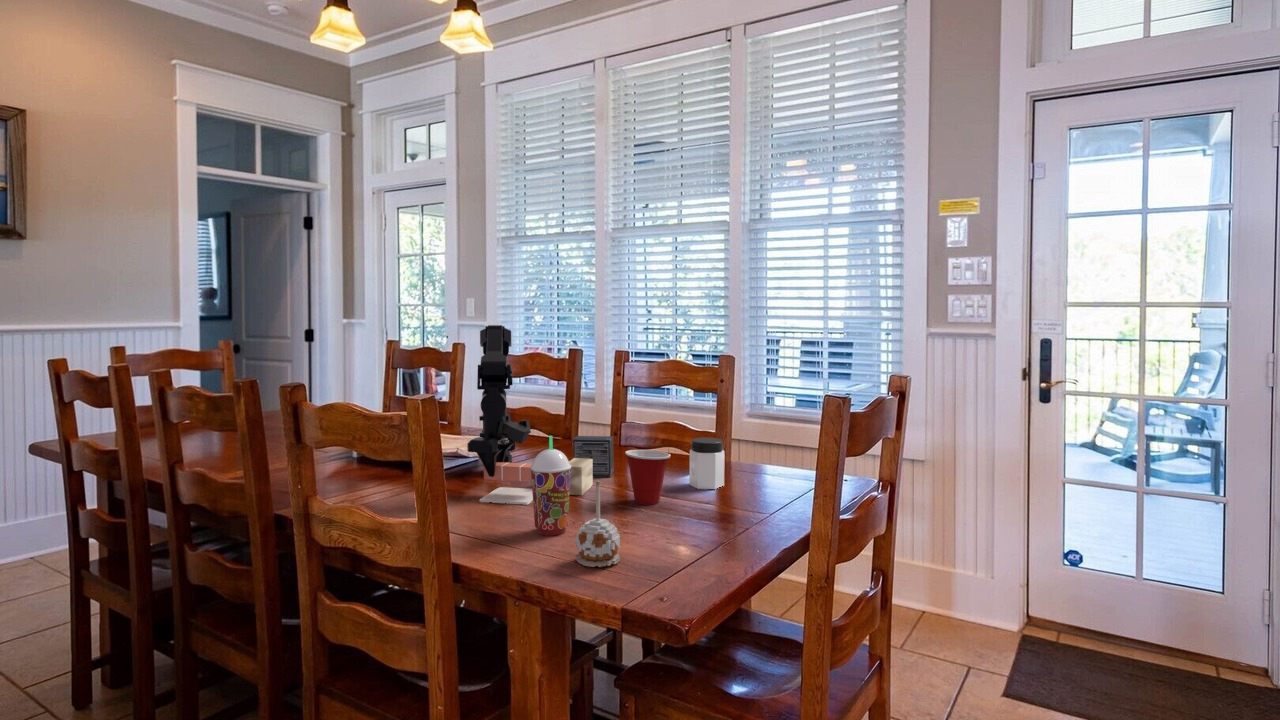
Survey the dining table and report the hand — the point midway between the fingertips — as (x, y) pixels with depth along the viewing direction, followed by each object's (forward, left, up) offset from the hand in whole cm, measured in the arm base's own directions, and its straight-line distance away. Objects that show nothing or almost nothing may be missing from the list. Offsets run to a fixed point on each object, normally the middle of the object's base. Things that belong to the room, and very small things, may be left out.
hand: (495, 474), depth 178 cm
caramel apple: (+37, -39, -6) cm, 54 cm away
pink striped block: (+5, 0, -1) cm, 5 cm away
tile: (+5, 0, -5) cm, 7 cm away
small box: (+18, +27, -6) cm, 33 cm away
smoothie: (+23, -24, -6) cm, 33 cm away
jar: (+50, +21, -6) cm, 54 cm away
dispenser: (+15, +10, -5) cm, 19 cm away
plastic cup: (+38, +3, -6) cm, 38 cm away
